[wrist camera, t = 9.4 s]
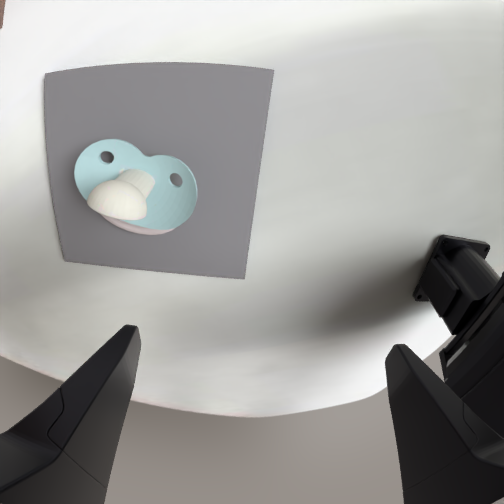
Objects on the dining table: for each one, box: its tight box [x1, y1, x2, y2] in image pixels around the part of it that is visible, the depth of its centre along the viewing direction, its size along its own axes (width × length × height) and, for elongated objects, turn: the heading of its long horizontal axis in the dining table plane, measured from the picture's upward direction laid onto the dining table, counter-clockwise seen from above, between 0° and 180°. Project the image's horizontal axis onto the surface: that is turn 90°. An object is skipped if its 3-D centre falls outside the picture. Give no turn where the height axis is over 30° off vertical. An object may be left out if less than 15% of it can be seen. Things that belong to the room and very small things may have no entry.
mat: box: [44, 62, 274, 279], centre depth 18 cm, size 14×14×1 cm
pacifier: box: [74, 139, 197, 235], centre depth 15 cm, size 7×6×6 cm
